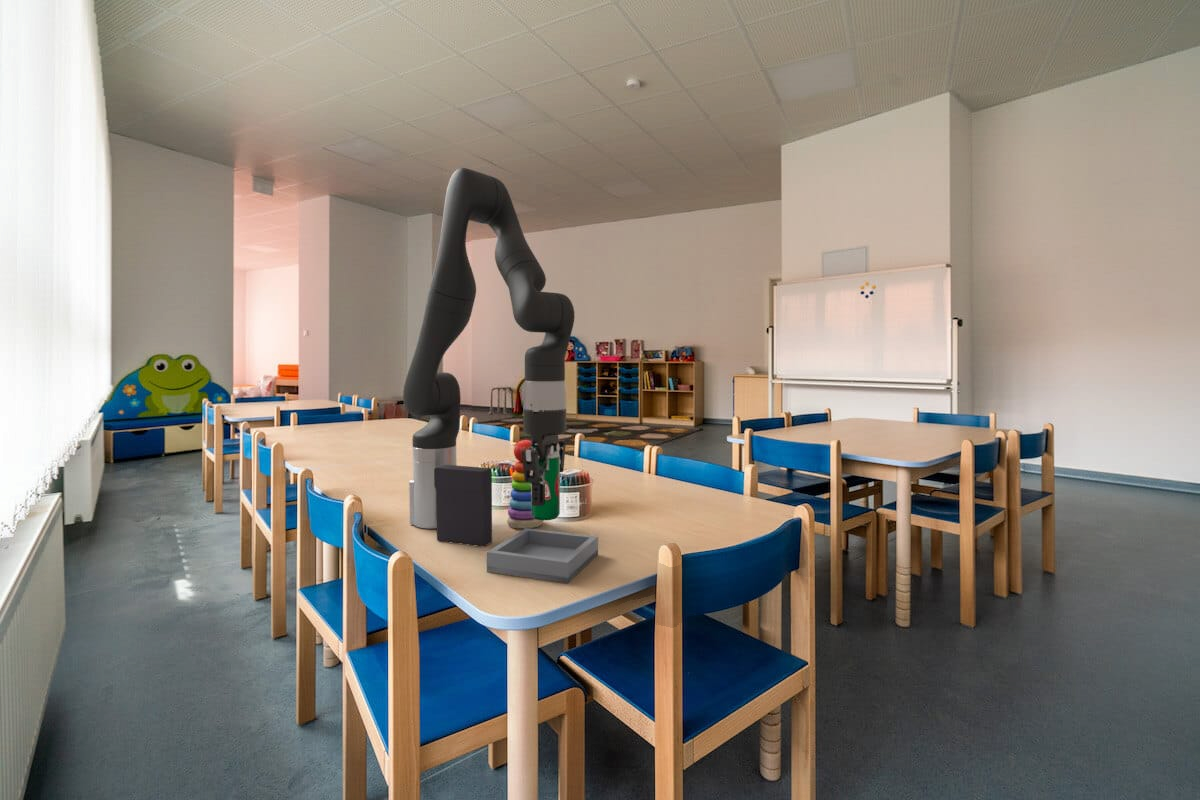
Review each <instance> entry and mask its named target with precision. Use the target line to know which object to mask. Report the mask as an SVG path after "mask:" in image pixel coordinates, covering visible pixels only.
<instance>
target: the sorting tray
mask: <svg viewBox="0 0 1200 800" xmlns="http://www.w3.org/2000/svg"><path fill="white" fill-rule="evenodd" d="M598 556H599V535H591V534H590V535H589V534H579V533H571V532H564V531H563V532H562V531H555V530H554V531H553V530H547V529H545V530H544V529H538V528H537V529H535V528H525V529H521V530H520V531H518V532H517V533H515V534H514V535H512V536H511V537H509V538H507V539H506V540H503V541H502V542H501V543H499V544H497V545H495V546H494V547H493V548H490V549H489V550H487V551H486V573H490V572H495V573H494V574H497V573H501V574H500V575H504V574H508V575H507V576H511V575H514V576H513V577H518V576H520V578H526V577H527V578H528V579H534V580H540V581H546V582H553V583H561V584H570V582H571V581H572V580H573V579H575V577H576V576H577V575H579V573H580V572H582V571H583V570H582V569H585V568H586V567H587V566H588V565H589V564H590V563H591V562H592V561H593V560H594V559H595V558H596V557H598ZM581 570H582V571H581ZM527 578H526V579H527Z"/></svg>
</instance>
